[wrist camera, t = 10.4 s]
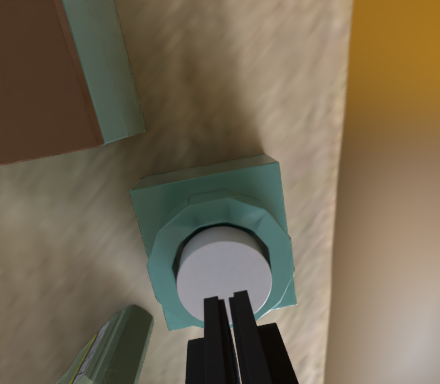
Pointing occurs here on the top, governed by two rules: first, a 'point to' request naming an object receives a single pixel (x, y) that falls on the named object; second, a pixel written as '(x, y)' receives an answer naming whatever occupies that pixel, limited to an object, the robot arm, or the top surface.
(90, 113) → the brown rectangular panel
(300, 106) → the top surface
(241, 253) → the flush button
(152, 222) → the flush button base
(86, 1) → the teal bin
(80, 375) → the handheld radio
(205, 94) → the top surface
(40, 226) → the top surface
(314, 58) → the top surface
